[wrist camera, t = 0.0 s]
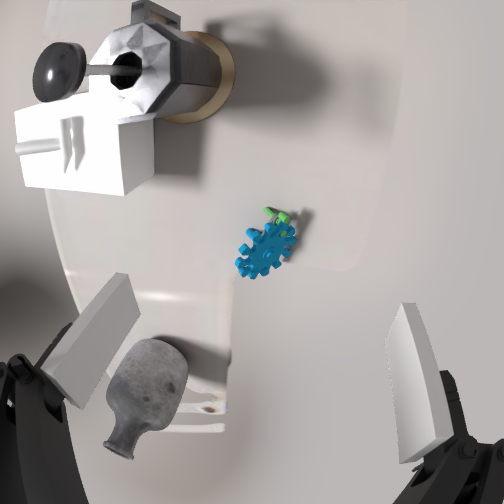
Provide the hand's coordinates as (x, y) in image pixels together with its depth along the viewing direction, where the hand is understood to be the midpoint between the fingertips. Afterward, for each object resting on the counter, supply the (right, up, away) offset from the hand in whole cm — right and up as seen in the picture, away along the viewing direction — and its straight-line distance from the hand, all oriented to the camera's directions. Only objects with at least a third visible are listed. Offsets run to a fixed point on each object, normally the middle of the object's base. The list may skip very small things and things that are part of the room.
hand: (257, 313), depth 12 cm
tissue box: (-27, +23, +25) cm, 43 cm away
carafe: (-9, +28, +17) cm, 34 cm away
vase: (-22, -21, +51) cm, 59 cm away
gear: (+3, +5, +30) cm, 30 cm away
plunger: (-11, +22, +10) cm, 26 cm away
